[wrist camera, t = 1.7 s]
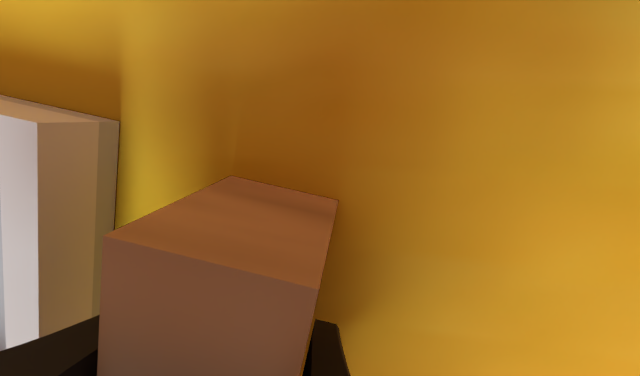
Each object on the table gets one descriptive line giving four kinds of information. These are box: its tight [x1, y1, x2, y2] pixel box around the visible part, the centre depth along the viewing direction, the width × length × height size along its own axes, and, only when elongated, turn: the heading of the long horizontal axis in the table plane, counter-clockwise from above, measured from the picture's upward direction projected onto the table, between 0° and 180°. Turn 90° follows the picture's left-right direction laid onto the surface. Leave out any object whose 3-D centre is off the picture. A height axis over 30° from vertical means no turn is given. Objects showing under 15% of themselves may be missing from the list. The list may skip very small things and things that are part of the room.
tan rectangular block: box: [97, 176, 339, 376], centre depth 8 cm, size 8×3×5 cm, turn 168°
